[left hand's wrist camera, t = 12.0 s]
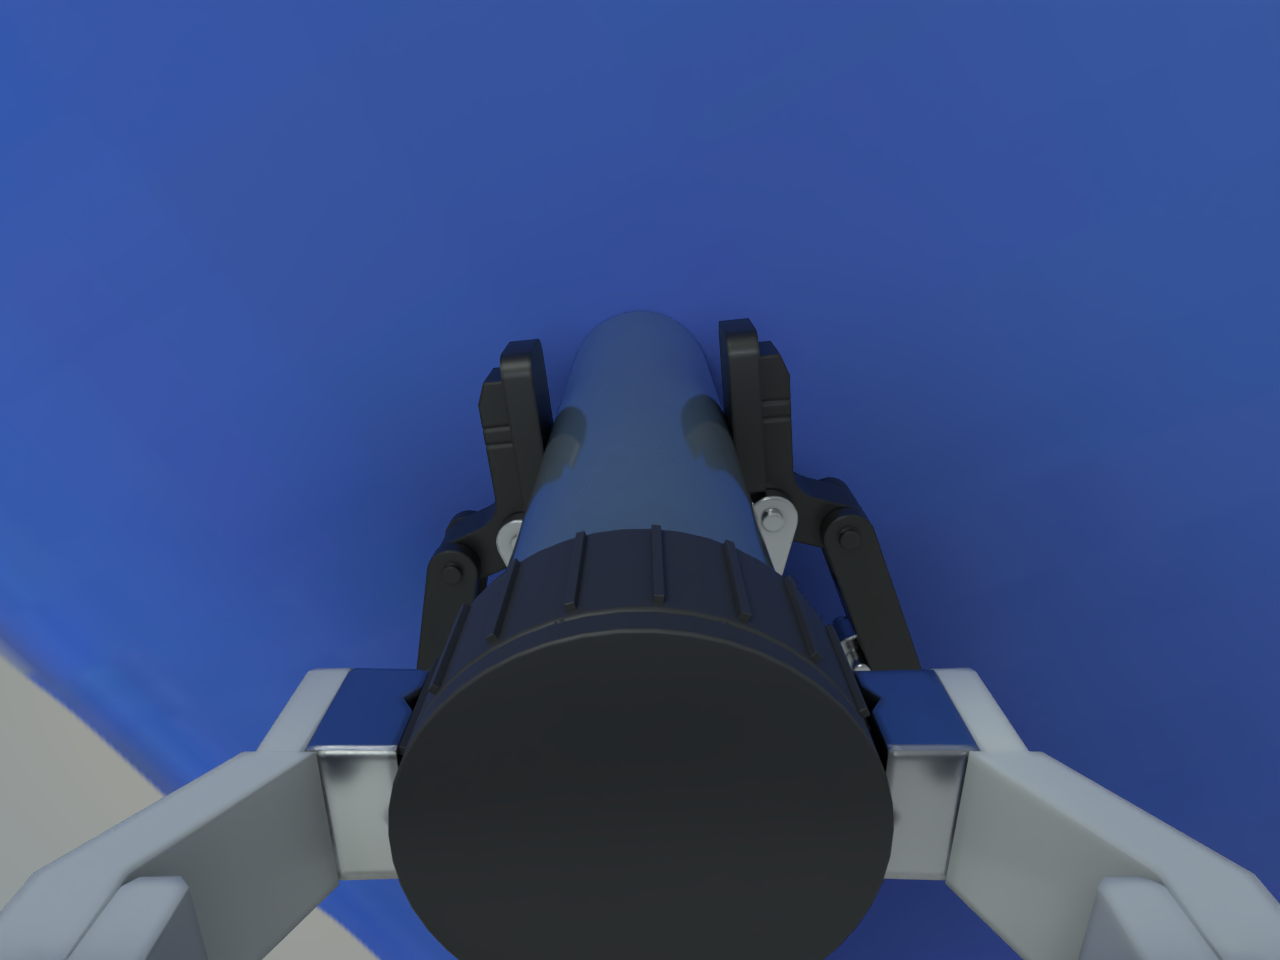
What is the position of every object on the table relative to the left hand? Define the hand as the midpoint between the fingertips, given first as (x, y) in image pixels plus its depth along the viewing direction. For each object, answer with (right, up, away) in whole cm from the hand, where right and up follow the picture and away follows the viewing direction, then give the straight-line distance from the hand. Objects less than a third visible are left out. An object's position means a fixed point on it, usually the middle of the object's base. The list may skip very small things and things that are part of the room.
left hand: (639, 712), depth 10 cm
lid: (0, -1, -2) cm, 2 cm away
